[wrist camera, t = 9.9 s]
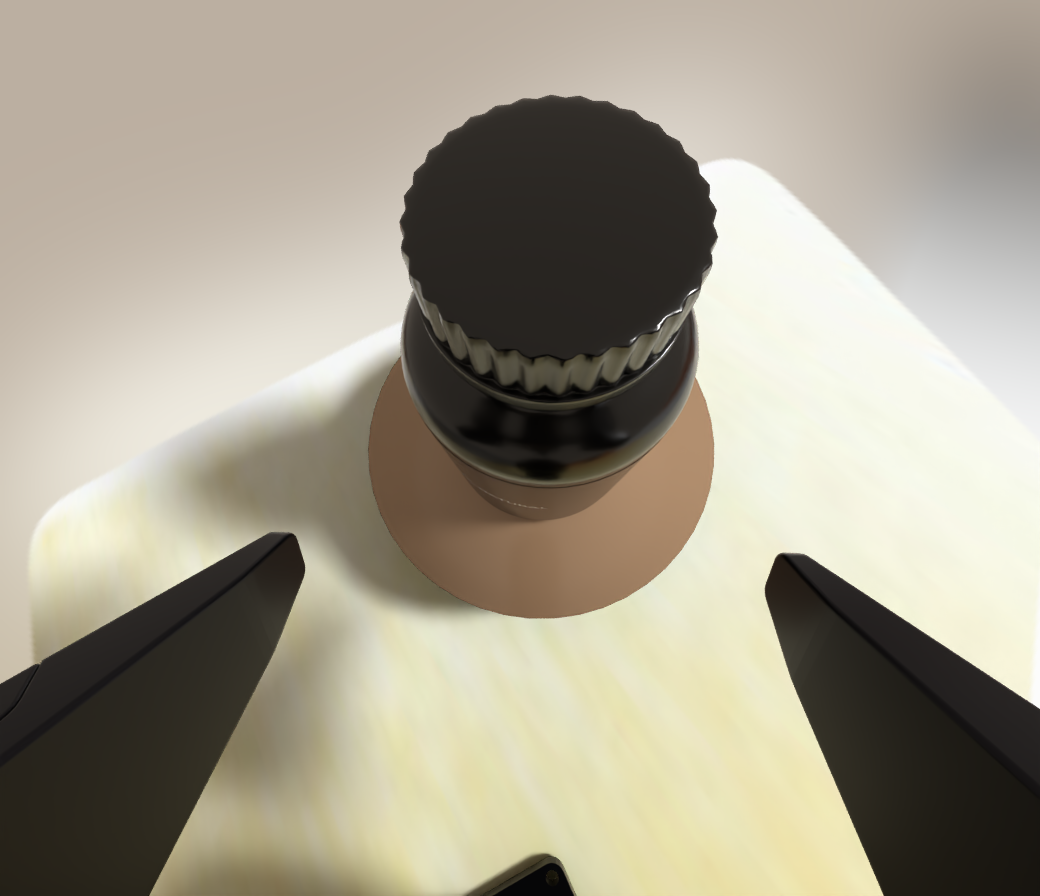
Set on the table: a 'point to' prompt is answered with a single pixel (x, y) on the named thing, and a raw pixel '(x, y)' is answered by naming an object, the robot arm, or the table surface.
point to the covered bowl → (536, 543)
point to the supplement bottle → (553, 297)
